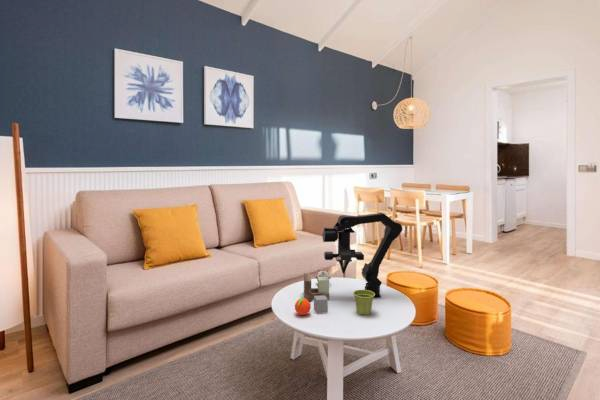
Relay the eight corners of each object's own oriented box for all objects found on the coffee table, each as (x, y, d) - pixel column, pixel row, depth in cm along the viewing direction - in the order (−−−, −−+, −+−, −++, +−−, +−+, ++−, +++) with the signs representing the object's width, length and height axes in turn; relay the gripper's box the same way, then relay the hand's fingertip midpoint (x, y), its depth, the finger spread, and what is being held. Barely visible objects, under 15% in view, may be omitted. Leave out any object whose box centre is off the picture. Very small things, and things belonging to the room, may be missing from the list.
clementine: (305, 320, 151) (305, 303, 150) (290, 316, 154) (290, 300, 153) (313, 313, 158) (313, 297, 157) (299, 310, 161) (299, 294, 160)
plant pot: (361, 318, 153) (361, 298, 152) (348, 310, 161) (348, 291, 160) (378, 314, 157) (379, 295, 156) (365, 306, 166) (365, 288, 165)
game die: (325, 290, 197) (335, 275, 198) (324, 290, 189) (335, 274, 190) (311, 281, 199) (321, 265, 200) (310, 280, 191) (320, 264, 192)
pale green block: (327, 294, 180) (328, 277, 179) (328, 298, 175) (329, 280, 174) (317, 294, 180) (318, 277, 179) (318, 298, 175) (318, 280, 174)
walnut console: (327, 292, 183) (327, 273, 182) (329, 301, 171) (329, 281, 170) (303, 292, 183) (303, 273, 182) (304, 301, 171) (304, 281, 170)
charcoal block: (324, 308, 164) (324, 295, 163) (327, 312, 159) (327, 299, 158) (313, 308, 163) (313, 295, 162) (316, 313, 158) (316, 300, 157)
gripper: (326, 245, 166) (325, 278, 168) (366, 245, 167) (365, 278, 168) (324, 240, 177) (323, 271, 179) (362, 240, 178) (361, 271, 179)
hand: (343, 273), depth 176 cm, fingers closed
